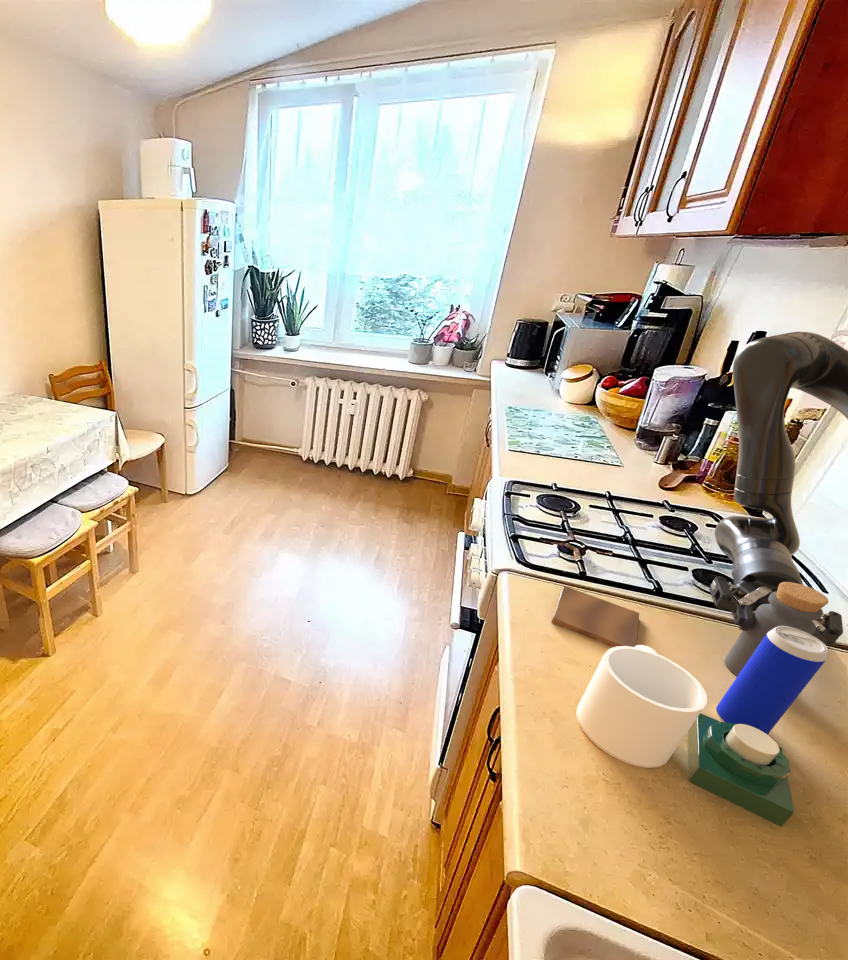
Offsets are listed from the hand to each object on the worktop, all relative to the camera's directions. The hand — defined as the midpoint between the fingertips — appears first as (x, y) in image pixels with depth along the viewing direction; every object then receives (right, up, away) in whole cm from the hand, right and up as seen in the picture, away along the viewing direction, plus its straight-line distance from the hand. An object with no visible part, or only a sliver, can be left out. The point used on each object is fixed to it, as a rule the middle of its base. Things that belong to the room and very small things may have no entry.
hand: (780, 637), depth 72 cm
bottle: (+2, -7, +5) cm, 9 cm away
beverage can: (-8, -11, -2) cm, 14 cm away
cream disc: (-16, -10, -10) cm, 21 cm away
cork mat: (-15, -2, +15) cm, 21 cm away
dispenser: (-16, -14, -9) cm, 23 cm away
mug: (-25, -11, -3) cm, 27 cm away
